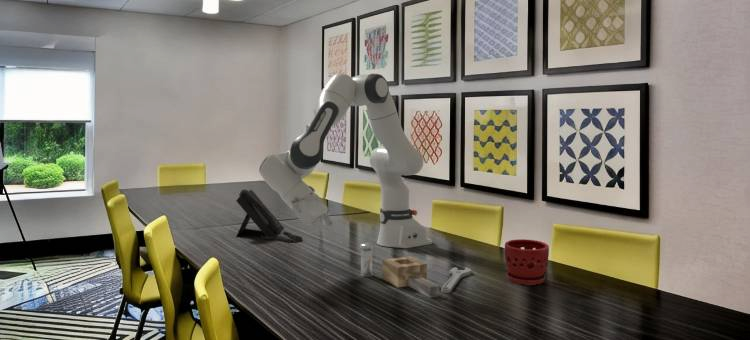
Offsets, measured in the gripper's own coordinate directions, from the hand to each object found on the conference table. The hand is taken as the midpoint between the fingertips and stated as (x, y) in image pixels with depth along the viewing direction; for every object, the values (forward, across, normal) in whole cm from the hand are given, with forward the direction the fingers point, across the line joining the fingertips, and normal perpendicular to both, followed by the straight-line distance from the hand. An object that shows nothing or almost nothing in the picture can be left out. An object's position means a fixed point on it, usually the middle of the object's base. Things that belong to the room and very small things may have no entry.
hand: (328, 228), depth 171 cm
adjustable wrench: (+39, -1, -17) cm, 42 cm away
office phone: (-15, +54, +37) cm, 67 cm away
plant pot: (+54, +2, -33) cm, 63 cm away
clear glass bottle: (+19, 0, +2) cm, 19 cm away
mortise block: (+30, -9, -9) cm, 33 cm away
